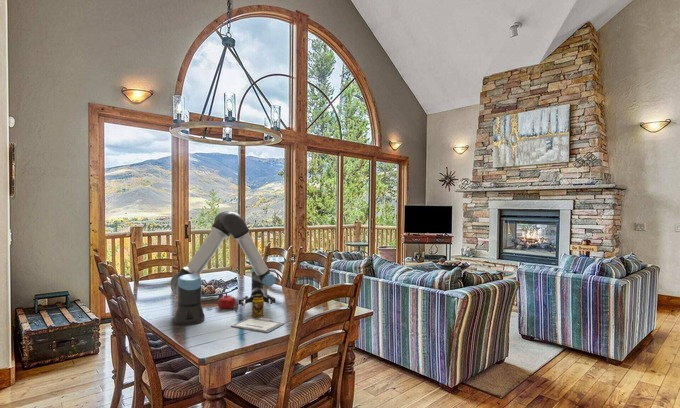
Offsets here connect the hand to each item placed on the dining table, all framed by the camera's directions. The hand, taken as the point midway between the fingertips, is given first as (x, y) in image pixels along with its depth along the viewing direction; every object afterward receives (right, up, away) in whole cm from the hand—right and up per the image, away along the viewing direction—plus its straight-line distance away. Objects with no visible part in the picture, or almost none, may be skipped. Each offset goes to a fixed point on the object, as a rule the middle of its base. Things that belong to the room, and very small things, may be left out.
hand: (256, 305), depth 211 cm
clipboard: (+3, -7, -13) cm, 15 cm away
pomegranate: (-22, -7, +18) cm, 29 cm away
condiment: (-1, -7, +3) cm, 8 cm away
